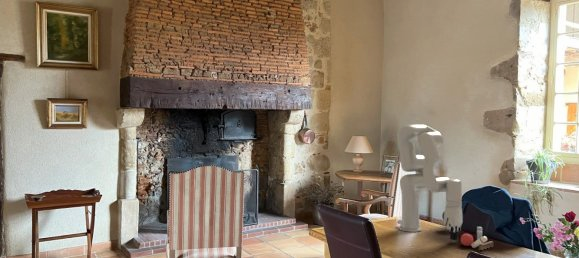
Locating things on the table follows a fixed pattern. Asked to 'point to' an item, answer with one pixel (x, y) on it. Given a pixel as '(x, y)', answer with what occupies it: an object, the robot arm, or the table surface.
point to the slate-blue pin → (479, 232)
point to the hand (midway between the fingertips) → (453, 239)
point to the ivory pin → (479, 242)
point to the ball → (466, 239)
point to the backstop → (486, 245)
